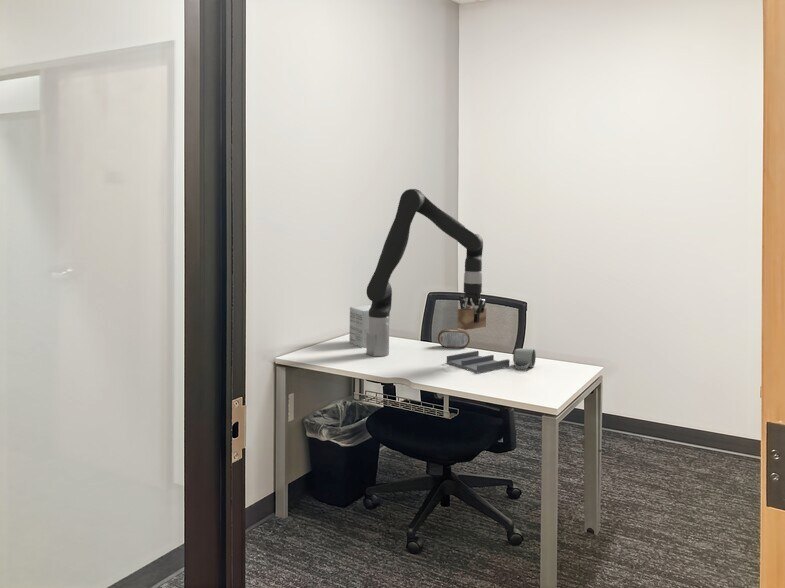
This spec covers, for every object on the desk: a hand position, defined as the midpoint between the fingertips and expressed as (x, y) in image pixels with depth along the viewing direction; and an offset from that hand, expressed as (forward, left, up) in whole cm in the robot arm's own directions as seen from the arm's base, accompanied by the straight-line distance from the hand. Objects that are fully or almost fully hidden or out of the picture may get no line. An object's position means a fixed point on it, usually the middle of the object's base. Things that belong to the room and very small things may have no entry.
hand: (471, 321), depth 260 cm
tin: (+13, +25, -18) cm, 34 cm away
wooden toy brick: (0, 0, -2) cm, 2 cm away
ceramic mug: (+14, -18, -18) cm, 29 cm away
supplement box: (-17, +53, -18) cm, 58 cm away
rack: (-1, -5, -18) cm, 18 cm away
